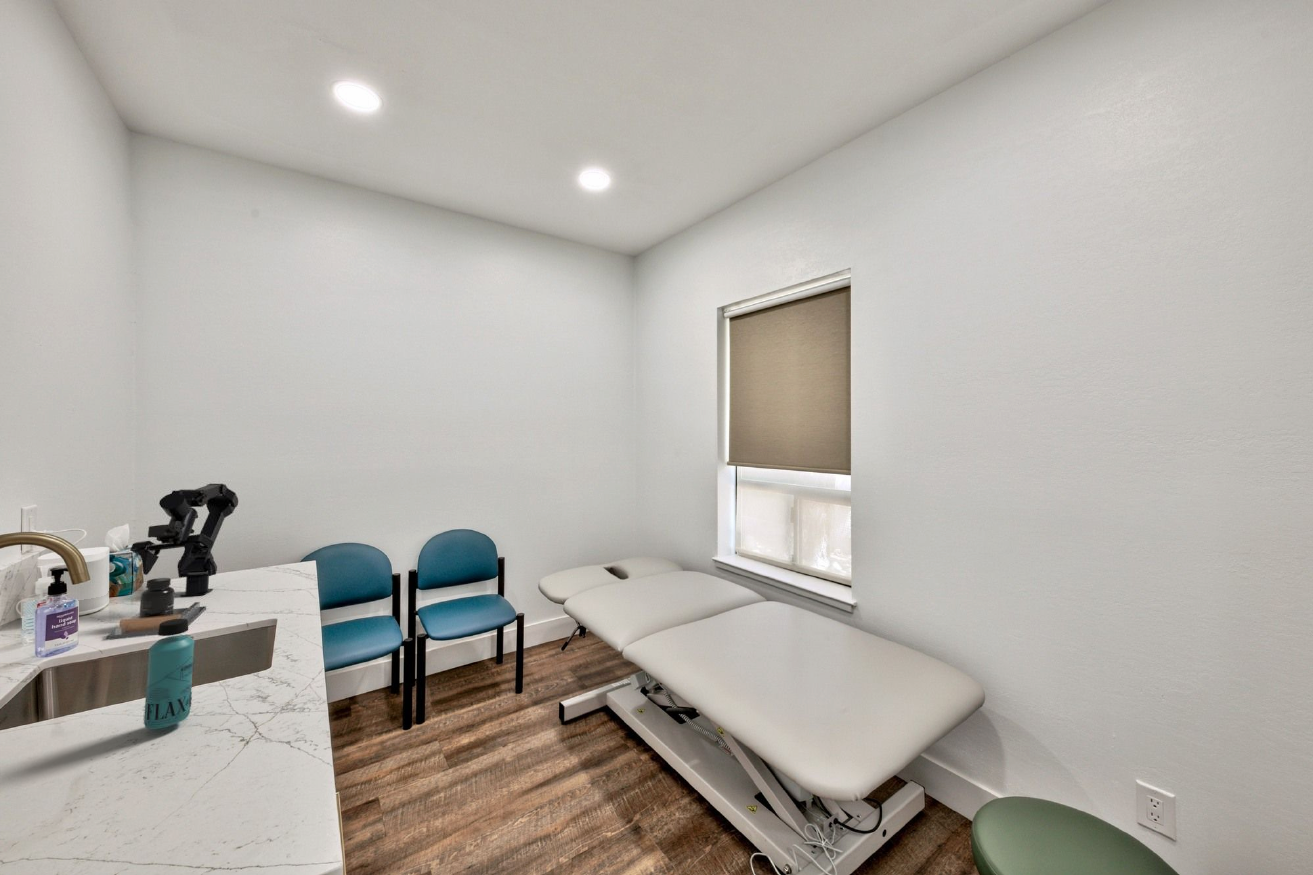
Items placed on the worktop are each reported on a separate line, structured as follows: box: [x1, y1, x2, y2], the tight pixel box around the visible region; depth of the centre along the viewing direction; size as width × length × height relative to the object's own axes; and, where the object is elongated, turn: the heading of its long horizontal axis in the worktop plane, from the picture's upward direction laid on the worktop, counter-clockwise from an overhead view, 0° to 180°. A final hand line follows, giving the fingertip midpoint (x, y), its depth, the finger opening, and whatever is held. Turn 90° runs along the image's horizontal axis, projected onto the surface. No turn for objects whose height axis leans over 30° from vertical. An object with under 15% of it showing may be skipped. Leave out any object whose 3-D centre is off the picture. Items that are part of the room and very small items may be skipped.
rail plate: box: [106, 601, 207, 640], centre depth 142 cm, size 20×15×4 cm
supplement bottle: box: [139, 577, 176, 618], centre depth 141 cm, size 7×7×12 cm
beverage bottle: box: [142, 619, 195, 730], centre depth 94 cm, size 6×7×20 cm
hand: (163, 571), depth 148 cm, fingers open, 9 cm apart
